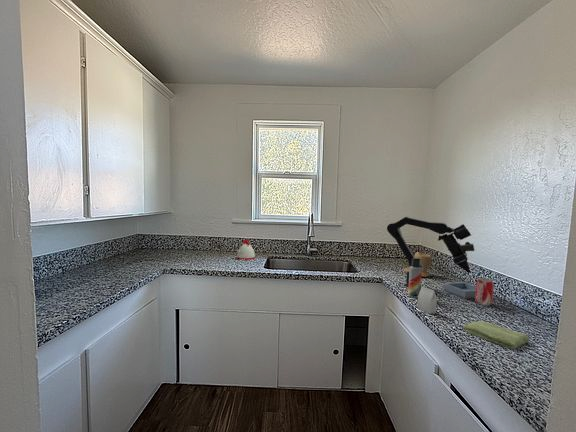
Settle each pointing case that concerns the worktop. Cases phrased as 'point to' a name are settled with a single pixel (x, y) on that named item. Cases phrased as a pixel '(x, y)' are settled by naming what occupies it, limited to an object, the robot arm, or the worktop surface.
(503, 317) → the worktop surface
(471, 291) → the bin
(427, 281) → the worktop surface
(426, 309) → the tea bag
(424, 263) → the stone cup
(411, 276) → the lotion bottle
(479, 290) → the soda can
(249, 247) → the white rounded cone
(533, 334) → the worktop surface
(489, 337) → the washcloth
